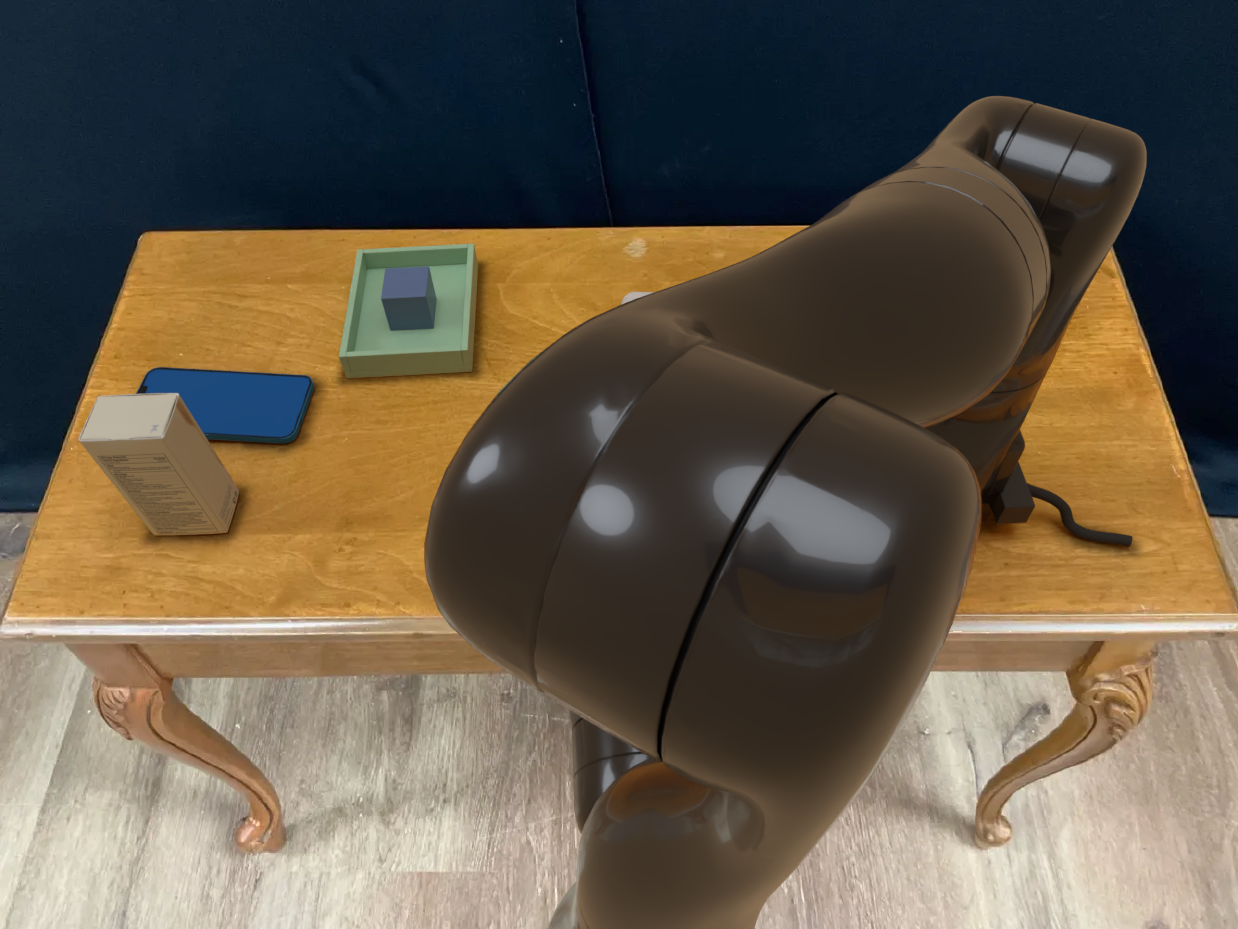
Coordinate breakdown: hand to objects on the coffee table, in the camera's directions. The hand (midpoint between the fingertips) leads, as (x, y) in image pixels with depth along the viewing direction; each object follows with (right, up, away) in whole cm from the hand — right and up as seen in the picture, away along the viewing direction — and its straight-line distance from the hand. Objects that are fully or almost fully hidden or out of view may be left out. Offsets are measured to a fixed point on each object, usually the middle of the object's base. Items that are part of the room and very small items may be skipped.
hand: (617, 427), depth 65 cm
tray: (-19, +11, +25) cm, 34 cm away
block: (-19, +11, +25) cm, 33 cm away
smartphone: (-34, +2, +19) cm, 39 cm away
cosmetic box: (-34, -7, +13) cm, 37 cm away
